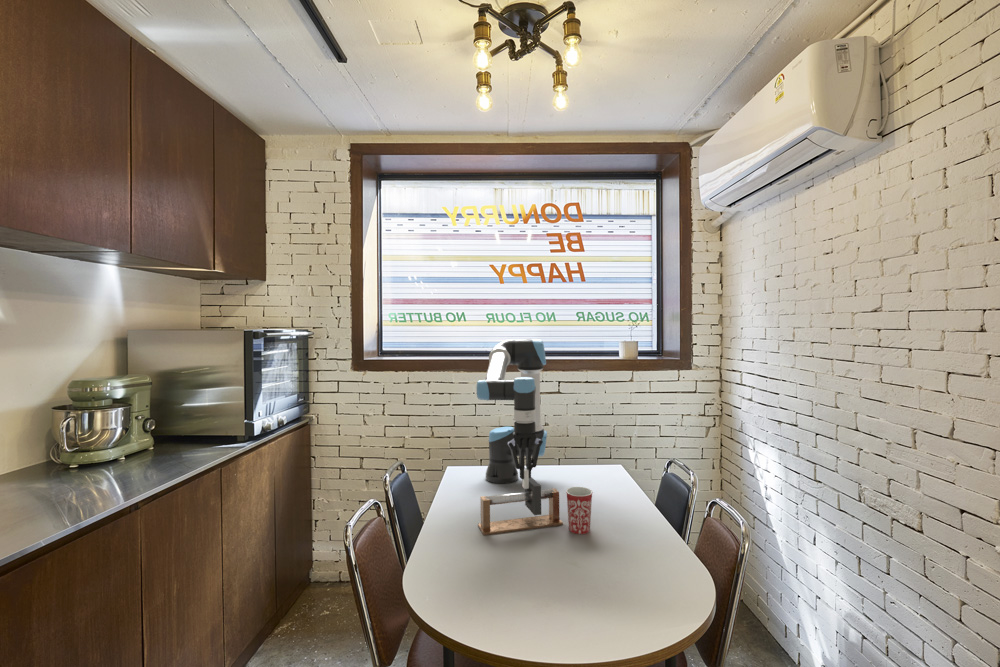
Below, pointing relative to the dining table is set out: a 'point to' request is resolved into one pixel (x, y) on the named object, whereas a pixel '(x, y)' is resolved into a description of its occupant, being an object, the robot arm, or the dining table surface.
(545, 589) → the dining table surface
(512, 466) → the robot arm
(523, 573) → the dining table surface
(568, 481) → the dining table surface
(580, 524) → the mug
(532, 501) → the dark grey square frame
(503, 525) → the pipe rig
